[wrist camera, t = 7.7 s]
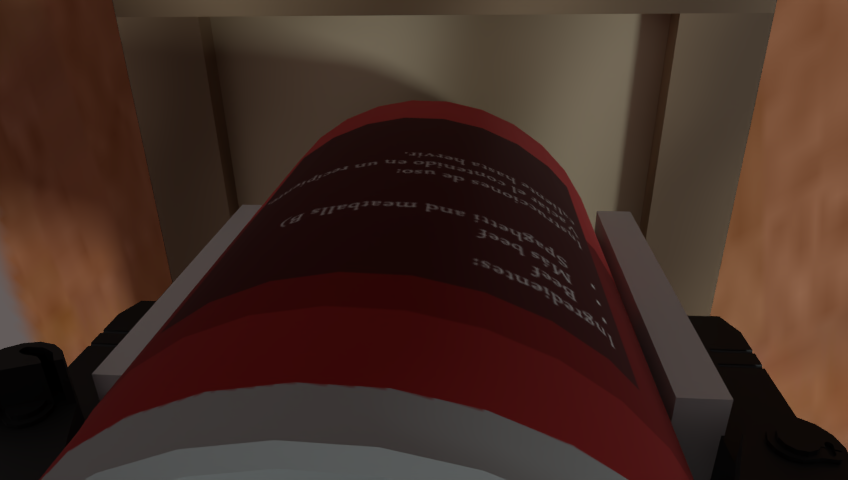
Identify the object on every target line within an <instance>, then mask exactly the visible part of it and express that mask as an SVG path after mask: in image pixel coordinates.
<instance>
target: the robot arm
mask: <svg viewBox="0 0 848 480" xmlns="http://www.w3.org/2000/svg"><path fill="white" fill-rule="evenodd" d="M261 206H262V205H242V206H241V207H240V208H239V209H238V210H237V211H236V212H235V214H234V215H233V216H232V217H231V218H230V219H229V220H228V221H227V223H226V224H225V225H224V226H223V227H222V228H221V229H220V230H219V232H218V233H217V234H216V235H215V236H214V237H213V238H212V239H211V241H210V242H209V243H208V244H207V245H206V246H205V247H204V248H203V250H202V251H201V252H200V253H199V254H198V255H197V256H196V257H195V259H194V260H193V261H192V262H191V263H190V264H189V265H188V266H187V268H186V269H185V270H184V271H183V272H182V273H181V274H180V275H179V277H178V278H177V279H176V280H175V281H174V282H173V283H172V284H171V286H170V287H169V288H168V289H167V290H166V291H165V292H164V293H163V295H162V296H161V297H160V298H159V299H158V300H157V301H140V302H139V303H137V304H135V305H134V306H132V307H130V308H128V309H127V310H125V311H123V312H122V313H120V314H118V315H117V316H116V318H115V319H114V320H113V321H112V322H111V323H110V324H109V325H108V326H107V327H106V328H105V329H104V332H103V333H100V334H99V335H98V336H97V337H96V338H95V339H94V340H93V341H92V343H91V346H88V347H87V348H86V349H85V350H84V351H83V352H82V353H81V354H80V355H79V356H78V357H77V358H76V359H75V360H74V361H73V362H72V363H71V364H70V365H69V367H67V364H66V361H65V358H64V354H63V351H62V350H61V349H60V348H59V347H57V346H56V345H55V344H50V343H44V342H34V343H23V344H19V345H15V346H11V347H7V348H4V349H1V350H0V480H39V479H40V478H41V477H42V475H43V474H44V473H45V472H46V470H47V469H48V468H49V467H50V466H51V464H52V463H53V462H54V461H55V459H56V458H57V457H58V456H59V454H60V453H61V452H62V451H63V450H64V448H65V447H66V446H67V445H68V443H69V442H70V441H71V440H72V438H73V437H74V436H75V435H76V434H77V432H78V431H79V430H80V428H81V427H82V425H83V424H84V422H85V421H86V419H87V418H88V416H89V415H90V413H91V412H92V410H93V409H94V408H95V407H96V406H97V404H98V403H99V402H100V401H101V400H102V398H103V397H104V396H105V395H106V393H107V392H108V391H109V390H110V389H111V387H112V386H113V385H114V384H115V383H116V381H117V380H118V379H119V378H120V377H121V375H122V374H123V373H124V372H125V371H126V369H127V368H128V367H129V366H130V365H131V363H132V362H133V361H134V360H135V358H136V357H137V356H138V355H139V354H140V352H141V351H142V350H143V349H144V348H145V346H146V345H147V344H148V343H149V342H150V340H151V339H152V338H153V337H154V336H155V334H156V333H157V332H158V331H159V330H160V328H161V327H162V326H163V325H164V323H165V322H166V321H167V320H168V319H169V317H170V316H171V315H172V314H173V313H174V311H175V310H176V309H177V308H178V307H179V305H180V304H181V303H182V302H183V301H184V299H185V298H186V297H187V296H188V295H189V293H190V292H191V291H192V290H193V288H194V287H195V286H196V285H197V284H198V282H199V281H200V280H201V279H202V278H203V276H204V275H205V274H206V273H207V272H208V270H209V269H210V268H211V267H212V266H213V264H214V263H215V262H216V261H217V260H218V258H219V257H220V256H221V255H222V253H223V252H224V251H225V250H226V249H227V247H228V246H229V245H230V244H231V243H232V241H233V240H234V239H235V238H236V237H237V235H238V234H239V233H240V232H241V231H242V229H243V228H244V227H245V226H246V225H247V223H248V222H249V221H250V220H251V218H252V217H253V216H254V215H255V214H256V212H257V211H258V210H259V209H260V208H261ZM594 232H595V234H596V237H597V239H598V242H599V244H600V247H601V249H602V252H603V254H604V257H605V259H606V262H607V264H608V267H609V269H610V272H611V274H612V277H613V279H614V282H615V284H616V287H617V289H618V292H619V294H620V297H621V299H622V302H623V304H624V307H625V309H626V312H627V314H628V317H629V319H630V321H631V324H632V326H633V329H634V331H635V334H636V336H637V339H638V341H639V344H640V346H641V349H642V351H643V354H644V356H645V359H646V361H647V364H648V366H649V369H650V371H651V374H652V376H653V379H654V381H655V384H656V386H657V389H658V391H659V394H660V396H661V399H662V401H663V404H664V406H665V409H666V411H667V414H668V416H669V419H670V421H671V424H672V426H673V429H674V431H675V434H676V436H677V439H678V441H679V444H680V446H681V449H682V451H683V454H684V456H685V459H686V461H687V464H688V466H689V469H690V471H691V474H692V476H693V479H694V480H848V452H847V450H846V448H845V447H844V446H843V445H842V444H841V443H840V442H839V441H838V440H837V439H836V438H835V437H834V436H833V435H832V434H830V433H828V432H827V431H825V430H824V429H822V428H820V427H819V426H817V425H815V424H813V423H810V422H808V421H805V420H802V419H800V418H797V417H796V416H795V414H794V413H793V411H792V410H791V408H790V407H789V405H788V404H787V402H786V401H785V399H784V397H783V396H782V394H781V393H780V391H779V390H778V388H777V387H776V385H775V384H774V382H773V381H772V379H771V378H770V376H769V375H768V373H767V372H766V370H765V369H762V364H761V363H760V361H759V360H758V358H757V357H756V355H755V354H752V349H751V347H750V346H749V344H748V343H747V341H746V340H745V338H744V337H743V335H742V334H741V332H739V331H738V330H737V329H735V328H734V327H733V326H731V325H730V324H729V323H727V322H726V321H724V320H723V319H722V318H720V317H719V316H687V314H686V312H685V311H684V309H683V307H682V305H681V303H680V301H679V300H678V298H677V296H676V294H675V292H674V290H673V289H672V287H671V285H670V283H669V281H668V280H667V278H666V276H665V274H664V272H663V270H662V269H661V267H660V265H659V263H658V261H657V259H656V258H655V256H654V254H653V252H652V250H651V248H650V247H649V245H648V243H647V241H646V239H645V238H644V236H643V234H642V232H641V230H640V228H639V227H638V225H637V223H636V221H635V219H634V217H633V216H632V214H631V212H626V211H597V213H596V222H595V231H594Z"/></svg>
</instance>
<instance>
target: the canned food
mask: <svg viewBox="0 0 848 480" xmlns="http://www.w3.org/2000/svg"><path fill="white" fill-rule="evenodd" d="M39 480H694V479H693V476H692V474H691V471H690V469H689V466H688V464H687V461H686V459H685V456H684V454H683V451H682V449H681V446H680V444H679V441H678V439H677V436H676V434H675V431H674V429H673V426H672V424H671V421H670V419H669V416H668V414H667V411H666V409H665V406H664V404H663V401H662V399H661V396H660V394H659V391H658V389H657V386H656V384H655V381H654V379H653V376H652V374H651V371H650V369H649V366H648V364H647V361H646V359H645V356H644V354H643V351H642V349H641V346H640V344H639V341H638V339H637V336H636V334H635V331H634V329H633V326H632V324H631V321H630V319H629V317H628V314H627V312H626V309H625V307H624V304H623V302H622V299H621V297H620V294H619V292H618V289H617V287H616V284H615V282H614V279H613V277H612V274H611V272H610V269H609V267H608V264H607V262H606V259H605V257H604V254H603V252H602V249H601V247H600V244H599V242H598V239H597V237H596V234H595V232H594V229H593V227H592V224H591V222H590V219H589V217H588V214H587V212H586V209H585V207H584V204H583V202H582V199H581V197H580V196H579V194H578V192H577V190H576V189H575V187H574V185H573V184H572V182H571V180H570V178H569V177H568V175H567V173H566V172H565V170H564V169H563V168H562V167H561V166H560V164H559V163H558V162H557V161H556V160H555V159H554V158H553V157H552V156H551V155H550V153H549V152H548V151H547V150H546V149H545V148H544V147H543V146H542V145H541V144H540V143H538V142H537V141H536V140H534V139H533V138H532V137H530V136H529V135H528V134H526V133H525V132H523V131H522V130H521V129H519V128H518V127H517V126H515V125H514V124H512V123H510V122H507V121H505V120H503V119H501V118H499V117H497V116H494V115H492V114H490V113H488V112H486V111H484V110H481V109H477V108H473V107H469V106H464V105H460V104H456V103H452V102H447V101H416V100H411V101H406V102H400V103H395V104H389V105H383V106H378V107H376V108H373V109H371V110H368V111H366V112H363V113H361V114H358V115H356V116H353V117H351V118H349V119H347V120H345V121H344V122H342V123H341V124H339V125H338V126H336V127H335V128H334V129H332V130H331V131H329V132H328V133H326V134H325V135H323V136H322V137H321V138H320V139H319V140H318V141H317V142H316V143H315V144H314V145H313V146H312V147H311V149H310V150H309V151H308V152H307V153H306V154H305V155H304V156H303V157H302V158H301V159H300V161H299V162H298V163H297V164H296V165H295V167H294V168H293V169H292V170H291V171H290V173H289V174H288V175H287V176H286V177H285V179H284V180H283V181H282V182H281V183H280V185H279V186H278V187H277V188H276V190H275V191H274V192H273V193H272V194H271V196H270V197H269V198H268V199H267V200H266V202H265V203H264V204H263V205H262V206H261V208H260V209H259V210H258V211H257V212H256V214H255V215H254V216H253V217H252V218H251V220H250V221H249V222H248V223H247V225H246V226H245V227H244V228H243V229H242V231H241V232H240V233H239V234H238V235H237V237H236V238H235V239H234V240H233V241H232V243H231V244H230V245H229V246H228V247H227V249H226V250H225V251H224V252H223V253H222V255H221V256H220V257H219V258H218V260H217V261H216V262H215V263H214V264H213V266H212V267H211V268H210V269H209V270H208V272H207V273H206V274H205V275H204V276H203V278H202V279H201V280H200V281H199V282H198V284H197V285H196V286H195V287H194V288H193V290H192V291H191V292H190V293H189V295H188V296H187V297H186V298H185V299H184V301H183V302H182V303H181V304H180V305H179V307H178V308H177V309H176V310H175V311H174V313H173V314H172V315H171V316H170V317H169V319H168V320H167V321H166V322H165V323H164V325H163V326H162V327H161V328H160V330H159V331H158V332H157V333H156V334H155V336H154V337H153V338H152V339H151V340H150V342H149V343H148V344H147V345H146V346H145V348H144V349H143V350H142V351H141V352H140V354H139V355H138V356H137V357H136V358H135V360H134V361H133V362H132V363H131V365H130V366H129V367H128V368H127V369H126V371H125V372H124V373H123V374H122V375H121V377H120V378H119V379H118V380H117V381H116V383H115V384H114V385H113V386H112V387H111V389H110V390H109V391H108V392H107V393H106V395H105V396H104V397H103V398H102V400H101V401H100V402H99V403H98V404H97V406H96V407H95V408H94V409H93V410H92V412H91V413H90V415H89V416H88V418H87V419H86V421H85V422H84V424H83V425H82V427H81V428H80V430H79V431H78V432H77V434H76V435H75V436H74V437H73V438H72V440H71V441H70V442H69V443H68V445H67V446H66V447H65V448H64V450H63V451H62V452H61V453H60V454H59V456H58V457H57V458H56V459H55V461H54V462H53V463H52V464H51V466H50V467H49V468H48V469H47V470H46V472H45V473H44V474H43V475H42V477H41V478H40V479H39Z"/></svg>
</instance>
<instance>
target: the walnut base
mask: <svg viewBox="0 0 848 480" xmlns="http://www.w3.org/2000/svg"><path fill="white" fill-rule="evenodd" d="M112 1H113V6H114V10H115V15H116V20H117V24H118V29H119V34H120V39H121V43H122V48H123V53H124V57H125V62H126V67H127V71H128V76H129V81H130V85H131V90H132V95H133V99H134V104H135V109H136V114H137V118H138V123H139V128H140V132H141V137H142V142H143V146H144V151H145V156H146V160H147V165H148V170H149V174H150V179H151V184H152V189H153V193H154V198H155V203H156V207H157V212H158V217H159V221H160V226H161V231H162V235H163V240H164V245H165V250H166V254H167V259H168V264H169V268H170V273H171V278H172V282H174V281H175V280H176V279H177V278H178V277H179V275H180V274H181V273H182V272H183V271H184V270H185V269H186V268H187V266H188V265H189V264H190V263H191V262H192V261H193V260H194V259H195V257H196V256H197V255H198V254H199V253H200V252H201V251H202V250H203V248H204V247H205V246H206V245H207V244H208V243H209V242H210V241H211V239H212V238H213V237H214V236H215V235H216V234H217V233H218V232H219V230H220V229H221V228H222V227H223V226H224V225H225V224H226V223H227V221H228V220H229V219H230V218H231V217H232V216H233V215H234V214H235V212H236V211H237V210H238V209H239V208H240V207H241V206H242V205H263V204H264V203H265V202H266V200H267V199H268V198H269V197H270V196H271V194H272V193H273V192H274V191H275V190H276V188H277V187H278V186H279V185H280V183H281V182H282V181H283V180H284V179H285V177H286V176H287V175H288V174H289V173H290V171H291V170H292V169H293V168H294V167H295V165H296V164H297V163H298V162H299V161H300V159H301V158H302V157H303V156H304V155H305V154H306V153H307V152H308V151H309V150H310V149H311V147H312V146H313V145H314V144H315V143H316V142H317V141H318V140H319V139H320V138H321V137H322V136H323V135H325V134H326V133H328V132H329V131H331V130H332V129H334V128H335V127H336V126H338V125H339V124H341V123H342V122H344V121H345V120H347V119H349V118H351V117H353V116H356V115H358V114H361V113H363V112H366V111H368V110H371V109H373V108H376V107H378V106H383V105H389V104H395V103H400V102H406V101H411V100H416V101H447V102H452V103H456V104H460V105H464V106H469V107H473V108H477V109H481V110H484V111H486V112H488V113H490V114H492V115H494V116H497V117H499V118H501V119H503V120H505V121H507V122H510V123H512V124H514V125H515V126H517V127H518V128H519V129H521V130H522V131H523V132H525V133H526V134H528V135H529V136H530V137H532V138H533V139H534V140H536V141H537V142H538V143H540V144H541V145H542V146H543V147H544V148H545V149H546V150H547V151H548V152H549V153H550V155H551V156H552V157H553V158H554V159H555V160H556V161H557V162H558V163H559V164H560V166H561V167H562V168H563V169H564V170H565V172H566V173H567V175H568V177H569V178H570V180H571V182H572V184H573V185H574V187H575V189H576V190H577V192H578V194H579V196H580V197H581V199H582V202H583V204H584V207H585V209H586V212H587V214H588V217H589V219H590V222H591V224H592V227H593V229H594V231H595V222H596V213H597V211H626V212H631V214H632V216H633V217H634V219H635V221H636V223H637V225H638V227H639V228H640V230H641V232H642V234H643V236H644V238H645V239H646V241H647V243H648V245H649V247H650V248H651V250H652V252H653V254H654V256H655V258H656V259H657V261H658V263H659V265H660V267H661V269H662V270H663V272H664V274H665V276H666V278H667V280H668V281H669V283H670V285H671V287H672V289H673V290H674V292H675V294H676V296H677V298H678V300H679V301H680V303H681V305H682V307H683V309H684V311H685V312H686V314H687V316H710V312H711V308H712V303H713V298H714V293H715V289H716V284H717V279H718V275H719V270H720V265H721V261H722V256H723V251H724V247H725V242H726V237H727V232H728V228H729V223H730V218H731V214H732V209H733V204H734V200H735V195H736V190H737V186H738V181H739V176H740V171H741V167H742V162H743V157H744V153H745V148H746V143H747V139H748V134H749V129H750V125H751V120H752V115H753V110H754V106H755V101H756V96H757V92H758V87H759V82H760V78H761V73H762V68H763V64H764V59H765V54H766V49H767V45H768V40H769V35H770V31H771V26H772V21H773V17H774V12H775V7H776V2H777V0H112Z"/></svg>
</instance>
